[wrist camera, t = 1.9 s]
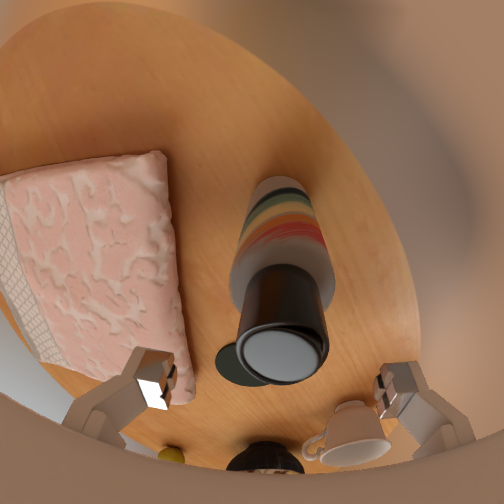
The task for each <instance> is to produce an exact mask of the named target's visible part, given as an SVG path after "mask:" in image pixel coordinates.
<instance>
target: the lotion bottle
mask: <svg viewBox="0 0 504 504" xmlns="http://www.w3.org/2000/svg"><path fill="white" fill-rule="evenodd" d="M229 292H230V296H231V299H232V302H233V304H234V305H235V307H236V308H237V310H238V311H239V312H240V313H241V318H240V323H239V328H238V334H237V339H236V354H237V357H238V359H239V361H240V363H241V364H242V366H243V367H244V368H245V369H246V370H247V371H248V372H249V373H250V374H251V375H252V376H254V377H255V378H257V379H259V380H261V381H263V382H265V383H269V384H273V385H291V384H295V383H298V382H301V381H303V380H305V379H307V378H309V377H311V376H312V375H314V374H315V373H316V372H317V371H318V369H319V368H320V367H321V366H322V365H323V363H324V362H325V360H326V358H327V356H328V352H329V337H328V332H327V327H326V321H325V316H324V312H325V310H326V309H327V308H328V306H329V305H330V303H331V301H332V299H333V296H334V292H335V275H334V271H333V267H332V263H331V260H330V257H329V254H328V251H327V248H326V245H325V242H324V239H323V236H322V233H321V230H320V227H319V224H318V221H317V219H316V216H315V213H314V210H313V207H312V205H311V202H310V199H309V197H308V194H307V192H306V190H305V189H304V188H303V186H302V185H301V184H300V183H299V182H298V181H296V180H294V179H292V178H290V177H287V176H273V177H270V178H267V179H265V180H264V181H262V182H261V183H260V184H259V185H258V186H257V187H256V189H255V191H254V192H253V195H252V197H251V201H250V204H249V207H248V211H247V214H246V218H245V221H244V225H243V228H242V232H241V235H240V239H239V242H238V246H237V249H236V253H235V256H234V260H233V264H232V268H231V272H230V277H229Z"/></svg>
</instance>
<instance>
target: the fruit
mask: <svg viewBox="0 0 504 504" xmlns="http://www.w3.org/2000/svg"><path fill="white" fill-rule="evenodd" d="M158 458H159V459H163V460H168V461H172V462H177V463H182V464H184V463H185V458H184V455H183V453H182V452H181V451H180V450H179V449H177V448H174V447H170V448H166V449H163V450H161V451H160V452H159V454H158Z"/></svg>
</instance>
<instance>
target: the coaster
mask: <svg viewBox="0 0 504 504" xmlns="http://www.w3.org/2000/svg"><path fill="white" fill-rule="evenodd" d="M215 364H216V368H217V370H218V372H219V373H220V374H221V375H222V376H223V377H224V378H225V379H227V380H229V381H231V382H233V383H235V384H238V385H242V386H249V387H258V386H264V385H268V384H269V383H265V382H263V381H261V380H259V379H257V378H255V377H254V376H252V375H251V374H250V373H249V372H248V371H247V370H246V369H245V368H244V367H243V366H242V364H241V363H240V361H239V359H238V357H237V354H236V343H232V344H229V345H227V346H225V347H224V348H222V349H221V350H220V351H219V352H218V354H217V356H216V360H215Z"/></svg>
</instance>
